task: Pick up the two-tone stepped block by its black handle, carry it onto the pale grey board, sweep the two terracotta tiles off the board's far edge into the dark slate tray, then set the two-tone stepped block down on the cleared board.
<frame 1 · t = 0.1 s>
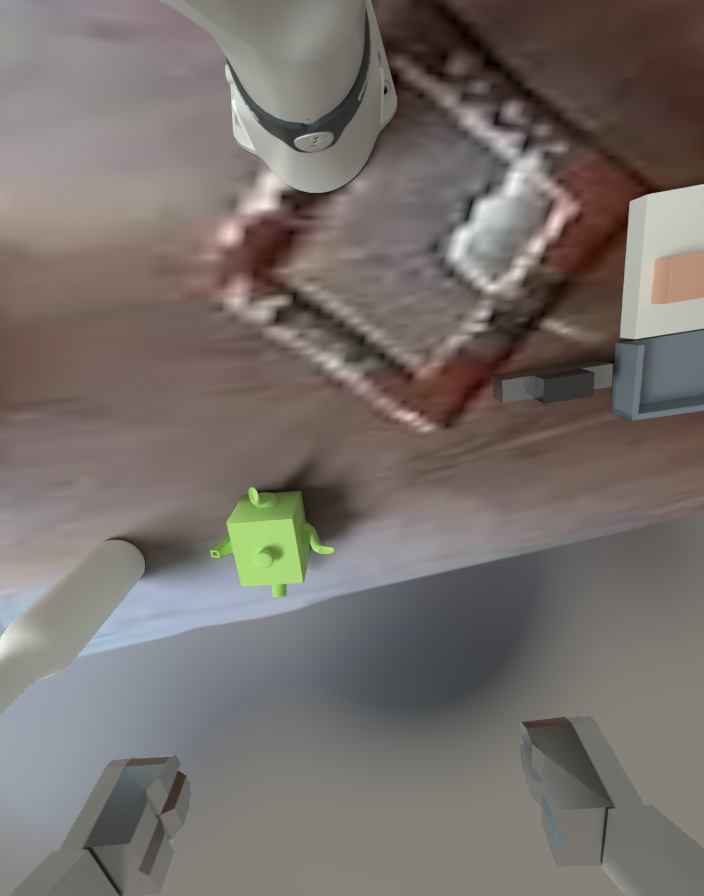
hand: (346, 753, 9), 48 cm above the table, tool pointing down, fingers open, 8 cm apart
kettle: (283, 515, 62), on the table
tray: (676, 369, 53), on the table
board: (690, 262, 48), on the table
two-tone stepped block: (542, 378, 54), on the table
alcohol: (122, 558, 65), on the table
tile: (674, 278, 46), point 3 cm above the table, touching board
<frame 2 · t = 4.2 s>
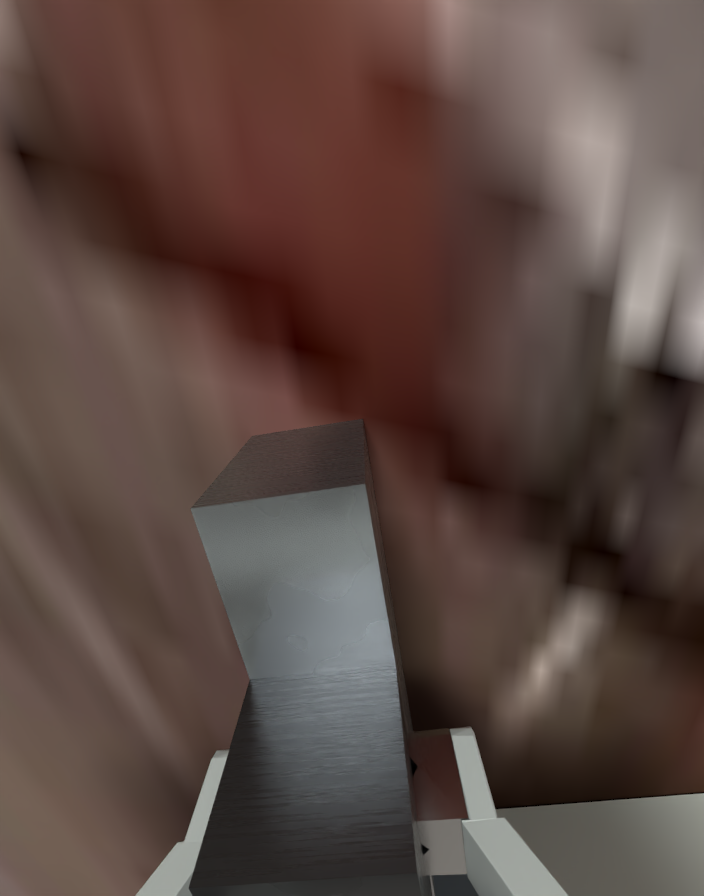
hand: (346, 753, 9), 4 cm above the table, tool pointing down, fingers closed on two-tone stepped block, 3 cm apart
two-tone stepped block: (350, 629, 12), on the table, touching gripper
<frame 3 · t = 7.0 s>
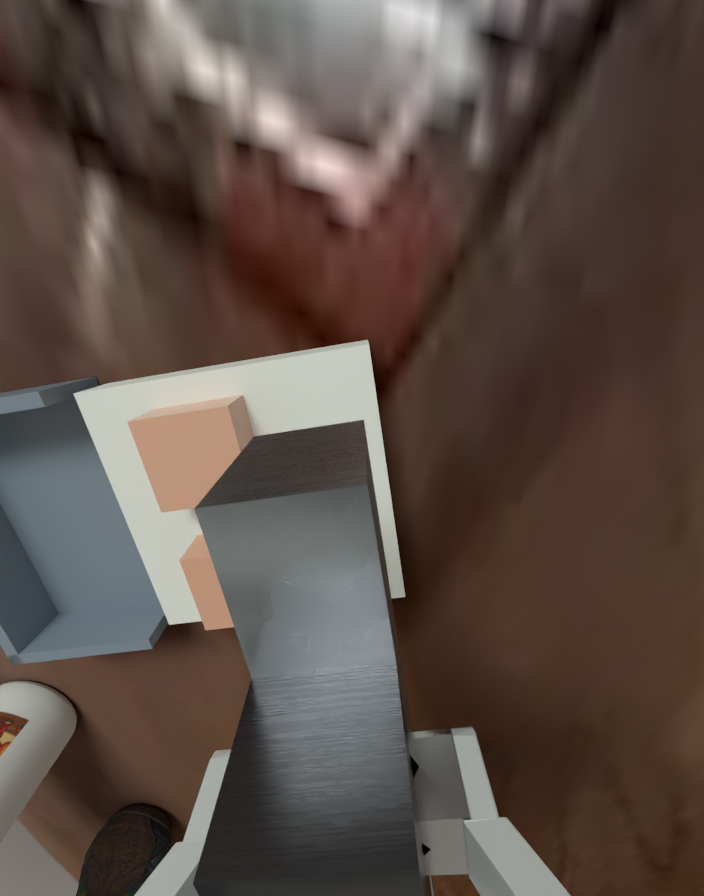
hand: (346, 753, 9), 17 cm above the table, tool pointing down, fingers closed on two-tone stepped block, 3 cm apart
tray: (76, 510, 26), on the table
board: (266, 482, 25), on the table
two-tone stepped block: (350, 629, 13), point 13 cm above the table, touching gripper
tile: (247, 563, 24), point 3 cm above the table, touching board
mate gourd: (144, 814, 38), on the table
milk bottle: (37, 707, 33), on the table
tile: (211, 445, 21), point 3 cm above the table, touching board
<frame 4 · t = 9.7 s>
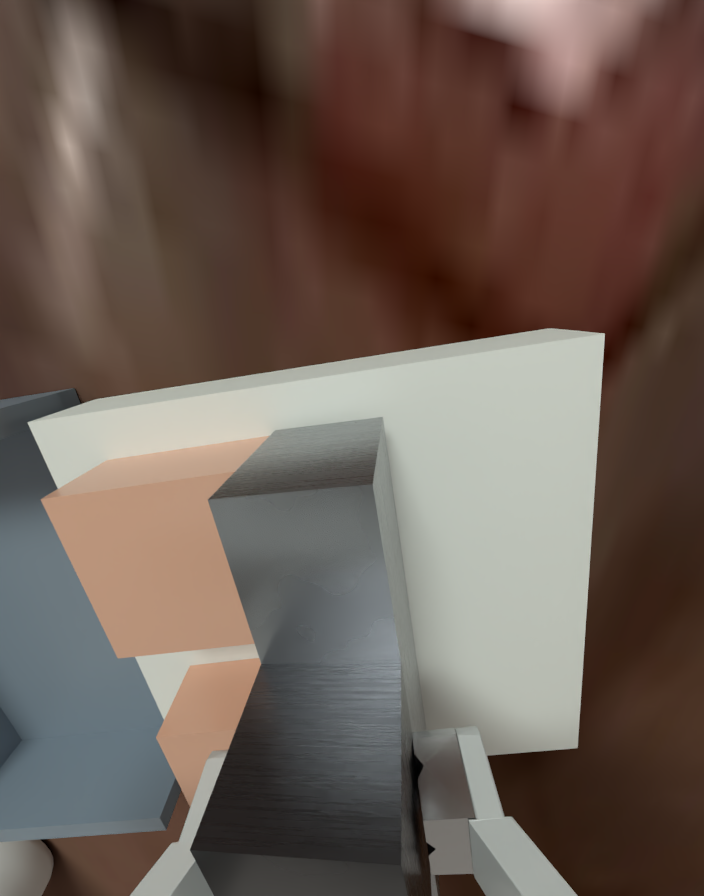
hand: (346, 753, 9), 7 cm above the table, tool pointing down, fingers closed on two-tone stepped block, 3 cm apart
tray: (46, 594, 17), on the table
board: (349, 558, 16), on the table
two-tone stepped block: (366, 623, 13), point 3 cm above the table, tilted 6°, touching gripper, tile
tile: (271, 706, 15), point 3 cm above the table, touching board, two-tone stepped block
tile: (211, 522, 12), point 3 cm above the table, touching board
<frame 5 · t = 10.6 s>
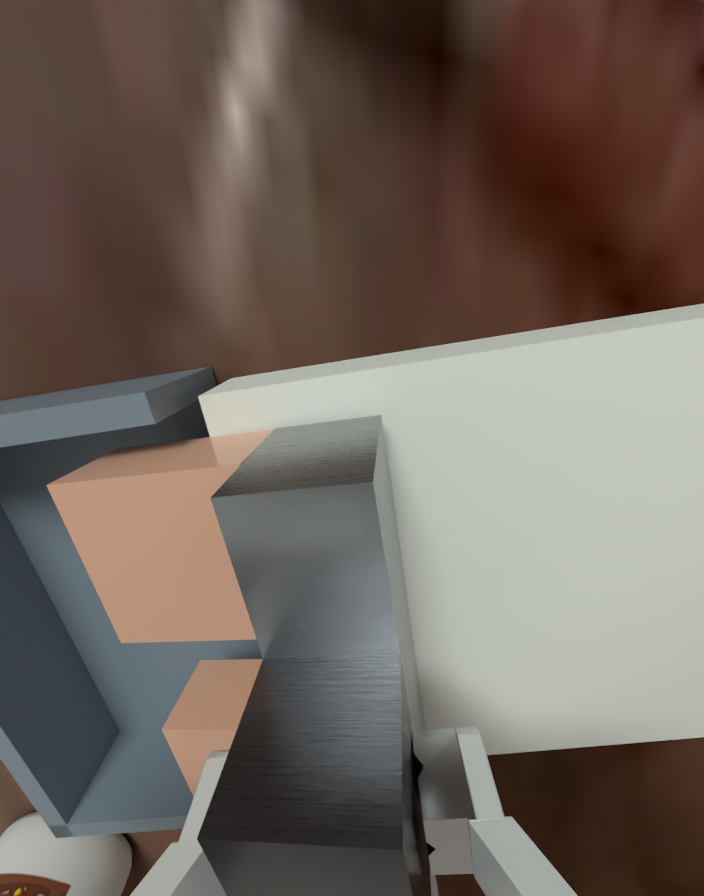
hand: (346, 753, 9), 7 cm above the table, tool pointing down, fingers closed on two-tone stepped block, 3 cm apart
tray: (156, 581, 16), on the table
board: (472, 542, 16), on the table
two-tone stepped block: (364, 618, 13), point 3 cm above the table, tilted 5°, touching gripper, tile, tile
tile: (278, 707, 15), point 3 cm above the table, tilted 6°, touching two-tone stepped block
milk bottle: (75, 838, 23), on the table
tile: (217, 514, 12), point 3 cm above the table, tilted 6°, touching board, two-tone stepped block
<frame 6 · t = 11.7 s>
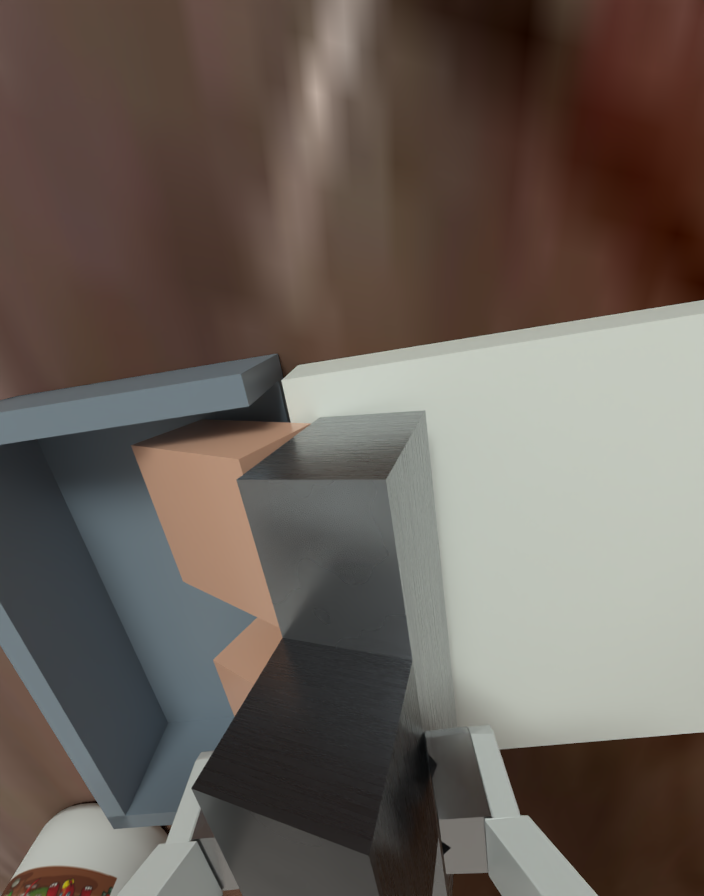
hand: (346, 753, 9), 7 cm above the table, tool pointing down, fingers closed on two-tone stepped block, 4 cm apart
tray: (210, 572, 16), on the table
board: (531, 532, 15), on the table
two-tone stepped block: (400, 616, 13), point 3 cm above the table, tilted 18°, touching board, gripper, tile, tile
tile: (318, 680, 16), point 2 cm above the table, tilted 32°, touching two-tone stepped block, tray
milk bottle: (114, 832, 23), on the table
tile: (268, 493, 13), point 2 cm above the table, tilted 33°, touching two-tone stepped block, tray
when the fingers open (8 cm above the table, at t = 13.1 s): two-tone stepped block stays where it is and tips over, resting on board.
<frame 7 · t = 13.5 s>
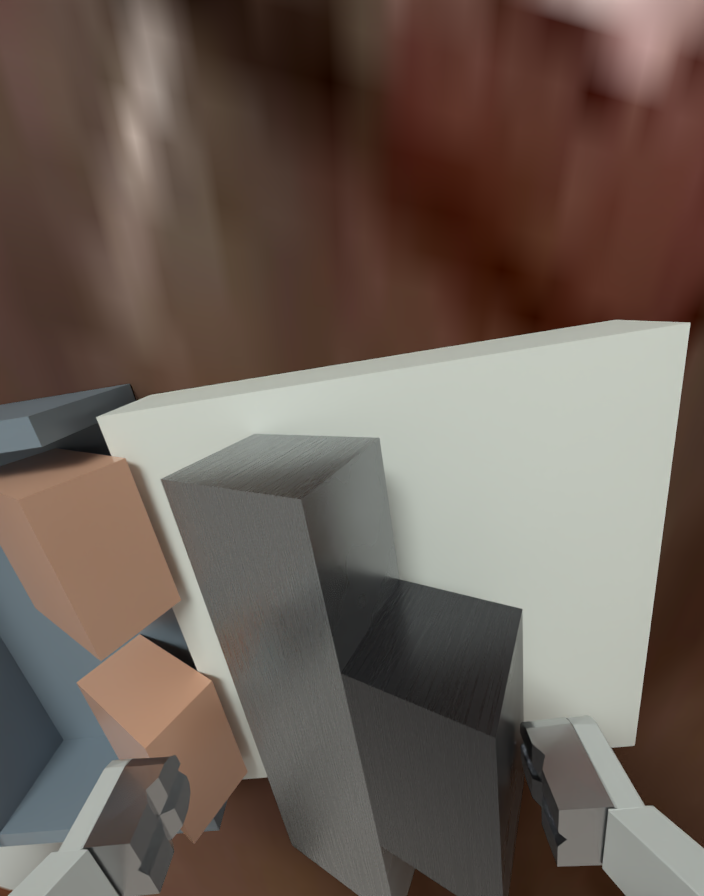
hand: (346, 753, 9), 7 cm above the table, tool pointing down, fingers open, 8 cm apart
tray: (92, 593, 17), on the table
board: (400, 554, 16), on the table
two-tone stepped block: (274, 659, 12), point 4 cm above the table, tilted 61°, touching board
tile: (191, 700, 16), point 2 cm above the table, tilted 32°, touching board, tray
milk bottle: (32, 845, 24), on the table
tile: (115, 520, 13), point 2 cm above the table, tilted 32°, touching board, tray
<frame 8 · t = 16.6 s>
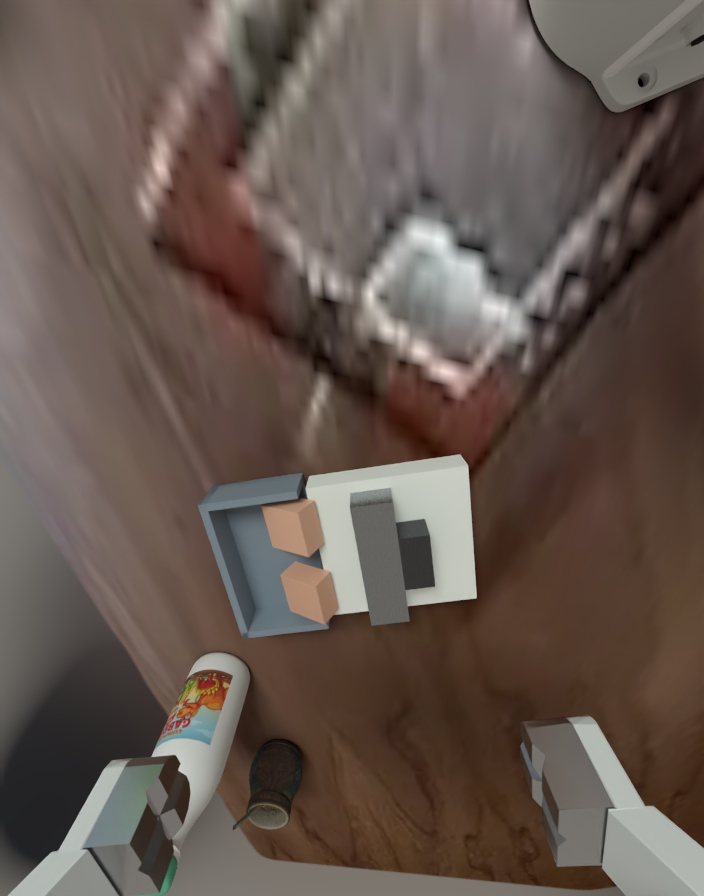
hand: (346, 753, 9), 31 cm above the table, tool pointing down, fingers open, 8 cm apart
tray: (275, 546, 44), on the table
board: (393, 530, 43), on the table
two-tone stepped block: (361, 560, 39), point 4 cm above the table, tilted 90°, touching board
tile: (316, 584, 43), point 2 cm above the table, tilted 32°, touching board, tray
mate gourd: (279, 747, 56), on the table
milk bottle: (223, 670, 51), on the table
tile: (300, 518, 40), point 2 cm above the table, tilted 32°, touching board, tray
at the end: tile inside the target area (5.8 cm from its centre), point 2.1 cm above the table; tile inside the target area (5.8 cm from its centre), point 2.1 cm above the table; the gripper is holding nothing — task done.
